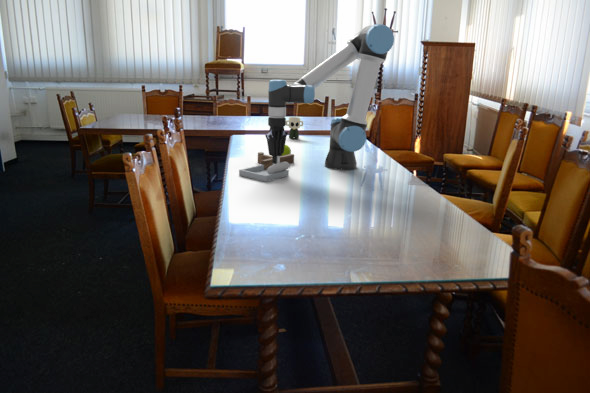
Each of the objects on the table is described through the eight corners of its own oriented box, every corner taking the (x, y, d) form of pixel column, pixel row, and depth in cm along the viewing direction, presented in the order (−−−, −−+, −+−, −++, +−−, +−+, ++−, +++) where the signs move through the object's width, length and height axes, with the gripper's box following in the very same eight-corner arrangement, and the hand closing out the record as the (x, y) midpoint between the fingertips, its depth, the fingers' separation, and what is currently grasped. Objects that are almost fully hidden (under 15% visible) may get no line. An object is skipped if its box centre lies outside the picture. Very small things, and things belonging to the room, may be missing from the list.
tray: (288, 175, 207) (288, 170, 207) (265, 182, 196) (266, 176, 195) (262, 169, 216) (262, 164, 215) (239, 175, 204) (239, 169, 203)
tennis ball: (278, 160, 238) (279, 146, 236) (275, 157, 244) (275, 143, 242) (292, 159, 239) (292, 146, 237) (288, 156, 246) (289, 143, 244)
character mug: (285, 139, 297) (286, 118, 293) (284, 137, 304) (285, 116, 300) (302, 139, 298) (303, 118, 294) (301, 137, 304) (302, 117, 301)
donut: (284, 162, 210) (290, 158, 200) (286, 170, 210) (293, 166, 200) (263, 169, 207) (268, 165, 197) (266, 176, 207) (271, 173, 197)
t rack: (293, 162, 233) (294, 152, 232) (264, 169, 216) (264, 159, 215) (274, 158, 240) (274, 149, 239) (244, 165, 223) (244, 155, 222)
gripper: (279, 114, 212) (278, 166, 219) (260, 117, 202) (260, 171, 209) (293, 116, 208) (291, 169, 215) (274, 118, 198) (273, 174, 205)
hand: (276, 170), depth 212 cm, fingers closed
